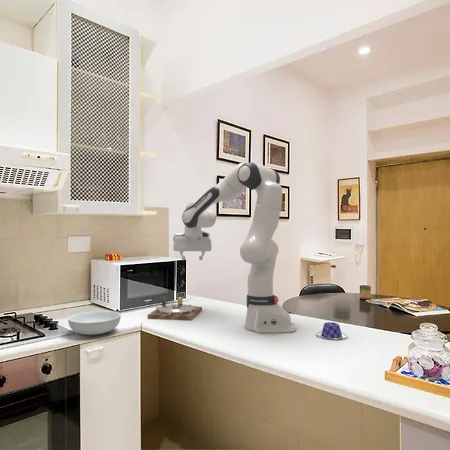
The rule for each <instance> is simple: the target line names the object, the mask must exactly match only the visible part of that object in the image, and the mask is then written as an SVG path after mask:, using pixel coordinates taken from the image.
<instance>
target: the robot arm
mask: <svg viewBox="0 0 450 450" xmlns="http://www.w3.org/2000/svg"><path fill="white" fill-rule="evenodd" d="M280 183H281V176H280V174H279V173H278V171H276V170H275V169H273V168H270V167H267V166H266V165H264V164H259V163H254V162H239V164H237V165H236V166H234V167H233V168H232V169H231V170H229V172H228V173H226V176H225V177H223V179H222V180H221V181H219V182H218V183H217V184H216V185H214V186H213V187H211V188H209V189H208V190H206V192H205V193H203V195H202V196H200V198H199V199H197V200H196V202H190V203H187V204H186V206H185V209H184V211H183V213H182V216H181V219H182V222H183V224H184V225H185V226H184V233H175V234H174V235H173V236H172V240H173V244H172V245H173V246H172V247H173V251H174V252H179V255H180V256H181V260H182V261H186V256H184V252H200V254H201V255H200V256H199V257H198V259H199V261H203V258H204V256H205V254H206V252H211V251H212V240H211V238H210V237H211V234H210V233H209V232H206V231H203V230H202V229H203V228H212V227H213V226H214V225H215V223H216V219H217V217H216V214H215V212H214V211H213V210H212V209H209V208H210V207H211V206H212V205H215V204H217V203H221V202H229V201H234V200H235V199H237V198H238V197H239V196H240V195H242V194H243V192H244V191H245V190H246V189H248V190H251V191H254V190H255V191H256V194H257V198H256V202H255V207H254V212H253V217H252V222H251V225H250V228H249V230H248V233H247V236H246V238H245V240H244V241H243V243H242V244H241V245H240V249H239V254H240V257H241V259H242V260H243V261H244V262H245V263H248V264H251V266H250V270H249V273H248V275H247V294H246V310H247V311H246V317H245V323H244V325H243V328H245V330H248V331H252V332H255V333H256V334H257V333H258V334H269V333H270V334H271V333H272V334H273V333H275V334H277V333H280V334H281V333H294V332H296V331H297V325H296V323H294V322H292V317H291V315H290V313H289V311H287V310H286V309H284V307H282V306H281V305H280V304H278V303H279V297H278V296H276V295H274V273H275V267H276V261H277V260H276V259H277V257H278V254H279V246H278V244H277V243H276V241H274V240H273V239H272V238H273V236H274V233H275V232H276V230H277V229H278V226H279V221H280V216H281V209H282V204H283V187H282V186H281V185H280Z"/></svg>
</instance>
